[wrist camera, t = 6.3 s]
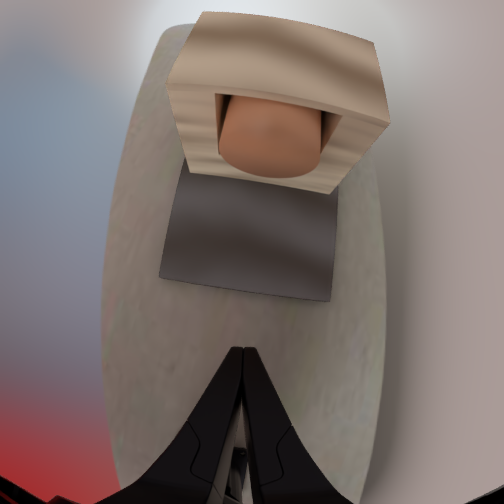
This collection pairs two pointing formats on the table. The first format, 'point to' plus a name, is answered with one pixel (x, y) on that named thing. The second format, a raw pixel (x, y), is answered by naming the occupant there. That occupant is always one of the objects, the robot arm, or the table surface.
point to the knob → (271, 137)
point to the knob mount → (256, 187)
